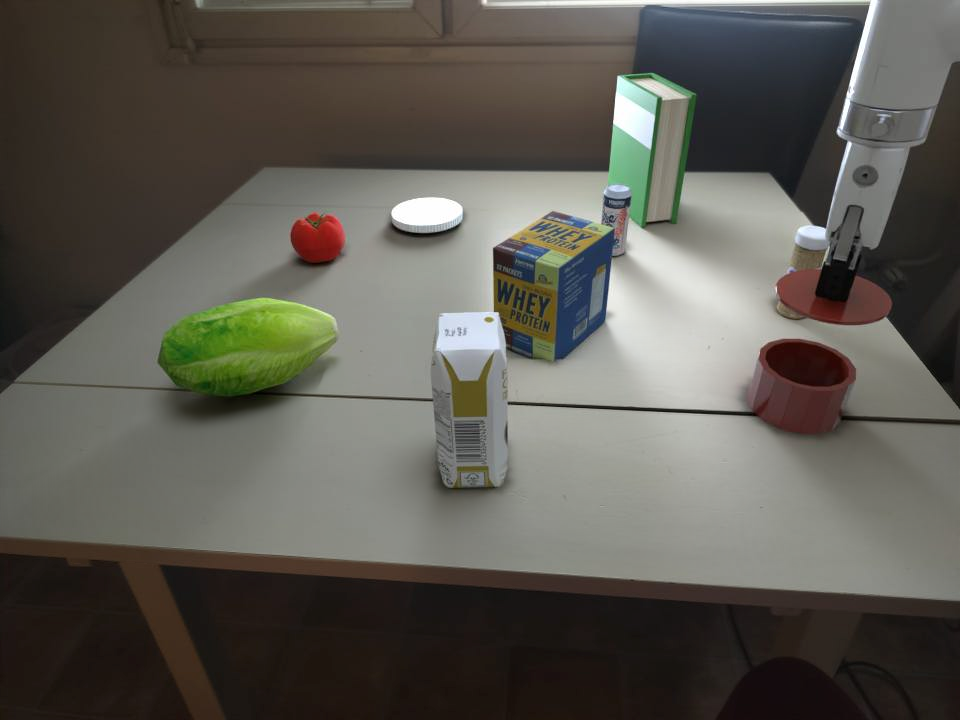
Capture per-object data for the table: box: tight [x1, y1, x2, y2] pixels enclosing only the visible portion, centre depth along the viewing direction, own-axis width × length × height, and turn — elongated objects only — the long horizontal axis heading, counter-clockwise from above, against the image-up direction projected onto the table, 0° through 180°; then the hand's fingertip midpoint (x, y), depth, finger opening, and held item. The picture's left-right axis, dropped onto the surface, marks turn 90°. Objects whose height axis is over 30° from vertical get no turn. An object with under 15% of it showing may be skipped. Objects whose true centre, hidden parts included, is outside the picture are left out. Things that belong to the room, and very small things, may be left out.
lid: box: [774, 246, 893, 326], centre depth 72 cm, size 12×12×7 cm
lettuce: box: [156, 297, 340, 398], centre depth 87 cm, size 13×23×12 cm, turn 110°
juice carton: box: [430, 311, 509, 489], centre depth 71 cm, size 8×9×19 cm
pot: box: [746, 338, 857, 435], centre depth 81 cm, size 11×11×8 cm
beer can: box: [600, 184, 632, 257], centre depth 117 cm, size 5×5×12 cm
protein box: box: [492, 210, 615, 362], centre depth 95 cm, size 10×15×16 cm
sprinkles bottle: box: [776, 225, 832, 320], centre depth 98 cm, size 5×5×13 cm
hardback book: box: [607, 72, 698, 228], centre depth 129 cm, size 18×7×24 cm, turn 13°
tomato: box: [289, 211, 346, 264], centre depth 119 cm, size 9×9×8 cm
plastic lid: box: [390, 197, 463, 234], centre depth 132 cm, size 14×14×2 cm
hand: (833, 290), depth 73 cm, fingers closed on lid, 2 cm apart
